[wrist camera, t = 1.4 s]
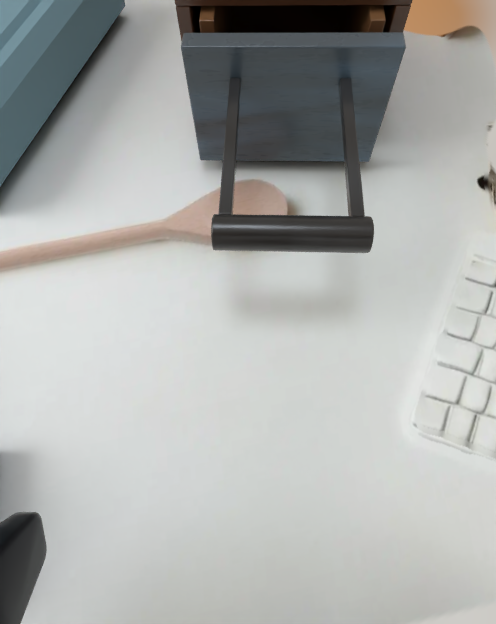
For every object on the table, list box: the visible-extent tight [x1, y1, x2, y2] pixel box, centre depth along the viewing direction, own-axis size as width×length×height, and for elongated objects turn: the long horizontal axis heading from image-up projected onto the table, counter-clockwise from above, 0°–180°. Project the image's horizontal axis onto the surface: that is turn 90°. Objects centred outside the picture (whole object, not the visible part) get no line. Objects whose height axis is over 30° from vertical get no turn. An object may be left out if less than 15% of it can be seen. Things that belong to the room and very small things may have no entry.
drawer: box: [181, 5, 406, 253], centre depth 26 cm, size 27×11×8 cm, turn 178°
